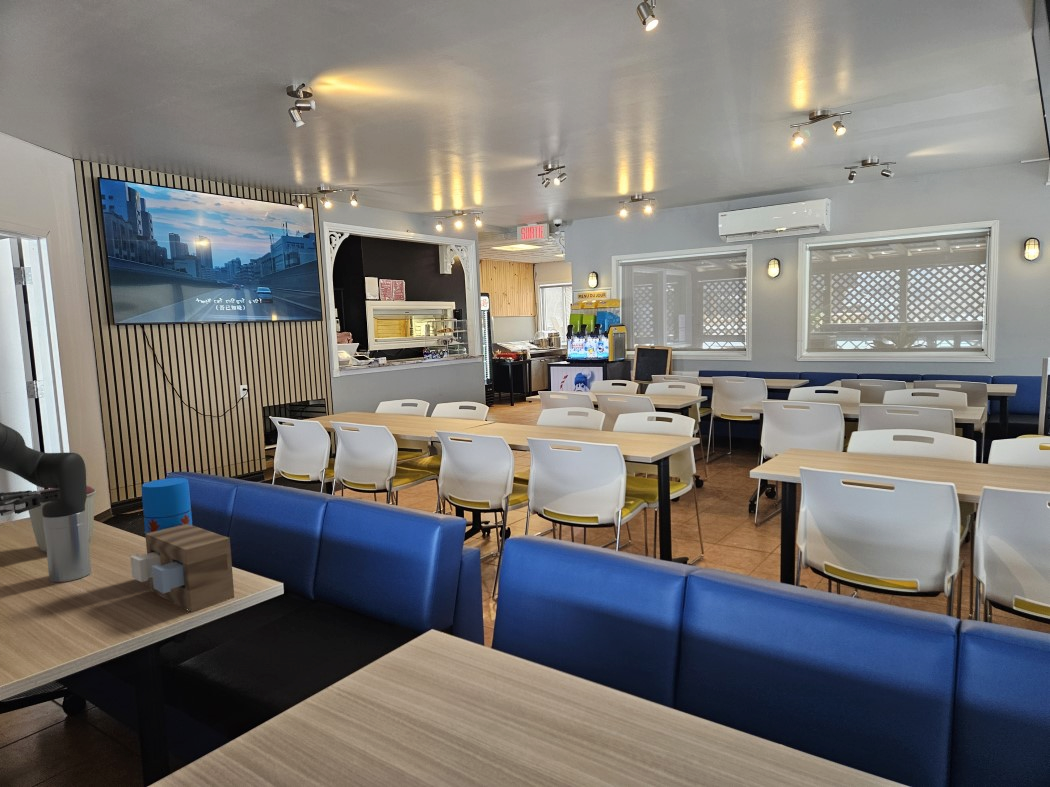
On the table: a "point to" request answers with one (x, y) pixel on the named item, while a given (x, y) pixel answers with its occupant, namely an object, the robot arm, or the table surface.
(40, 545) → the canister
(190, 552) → the housing
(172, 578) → the key blue
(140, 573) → the key white
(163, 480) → the thermos
